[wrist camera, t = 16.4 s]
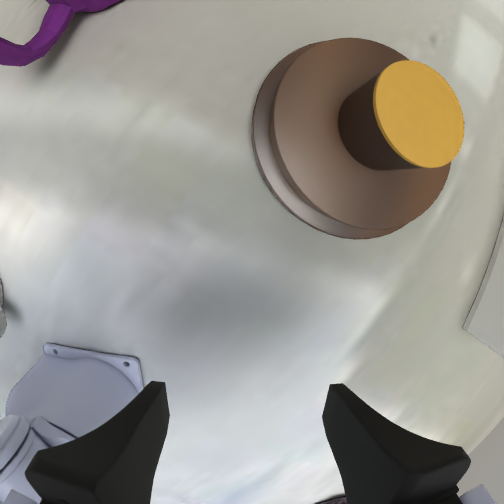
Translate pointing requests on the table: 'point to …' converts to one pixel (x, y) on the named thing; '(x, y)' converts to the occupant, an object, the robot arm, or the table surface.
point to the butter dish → (490, 302)
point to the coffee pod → (402, 119)
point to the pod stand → (332, 144)
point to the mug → (48, 31)
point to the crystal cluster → (337, 501)
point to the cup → (2, 314)
